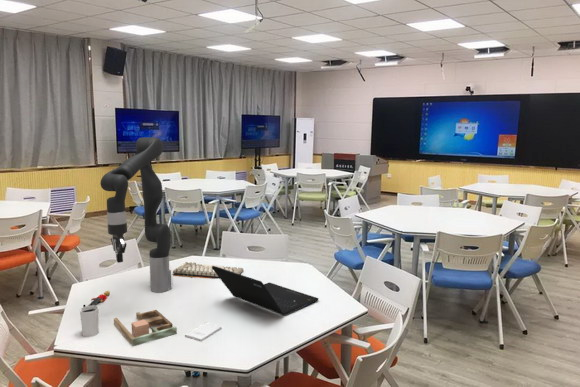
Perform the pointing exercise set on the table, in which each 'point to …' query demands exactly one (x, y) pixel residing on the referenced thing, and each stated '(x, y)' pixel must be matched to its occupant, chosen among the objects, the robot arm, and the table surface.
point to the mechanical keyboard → (201, 270)
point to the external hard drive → (203, 331)
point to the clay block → (140, 328)
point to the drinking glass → (89, 320)
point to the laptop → (263, 292)
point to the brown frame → (156, 323)
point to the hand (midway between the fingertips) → (119, 261)
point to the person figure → (99, 299)
